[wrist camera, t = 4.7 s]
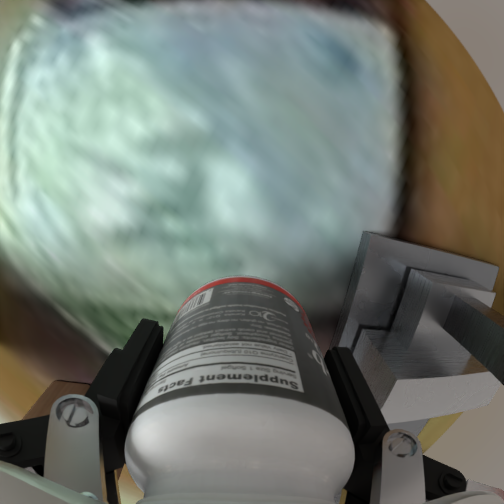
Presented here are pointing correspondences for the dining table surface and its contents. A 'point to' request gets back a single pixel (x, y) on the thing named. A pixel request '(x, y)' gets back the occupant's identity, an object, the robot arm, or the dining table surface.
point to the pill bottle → (240, 405)
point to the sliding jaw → (435, 350)
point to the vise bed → (395, 290)
